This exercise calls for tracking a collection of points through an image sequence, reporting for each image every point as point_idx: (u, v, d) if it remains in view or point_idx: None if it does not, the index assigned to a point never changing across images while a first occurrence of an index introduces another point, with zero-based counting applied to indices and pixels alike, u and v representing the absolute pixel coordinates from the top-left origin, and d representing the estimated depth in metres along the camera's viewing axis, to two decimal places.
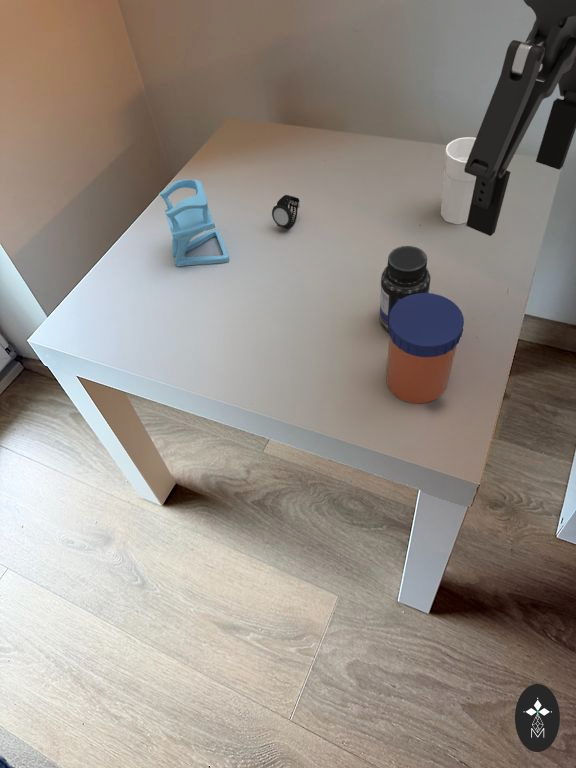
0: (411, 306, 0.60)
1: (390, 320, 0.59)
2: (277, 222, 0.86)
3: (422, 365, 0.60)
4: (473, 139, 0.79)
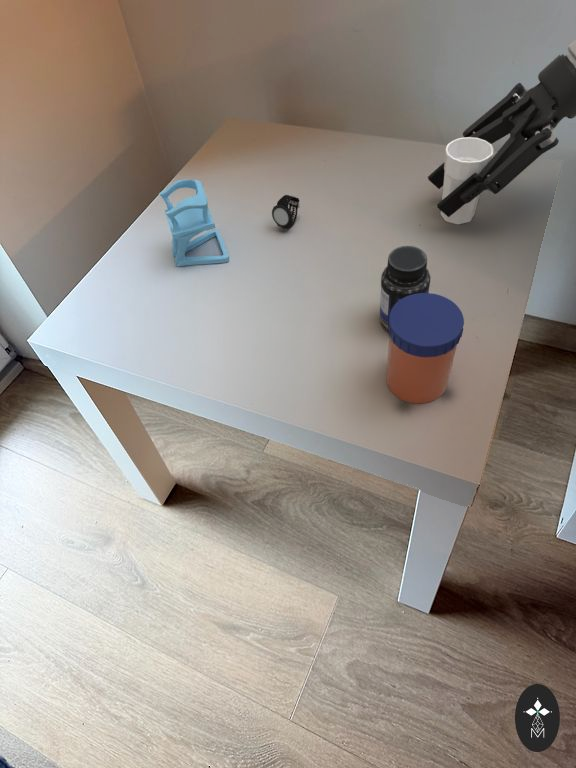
0: (411, 306, 0.60)
1: (390, 320, 0.59)
2: (277, 222, 0.86)
3: (422, 365, 0.60)
4: (473, 139, 0.79)
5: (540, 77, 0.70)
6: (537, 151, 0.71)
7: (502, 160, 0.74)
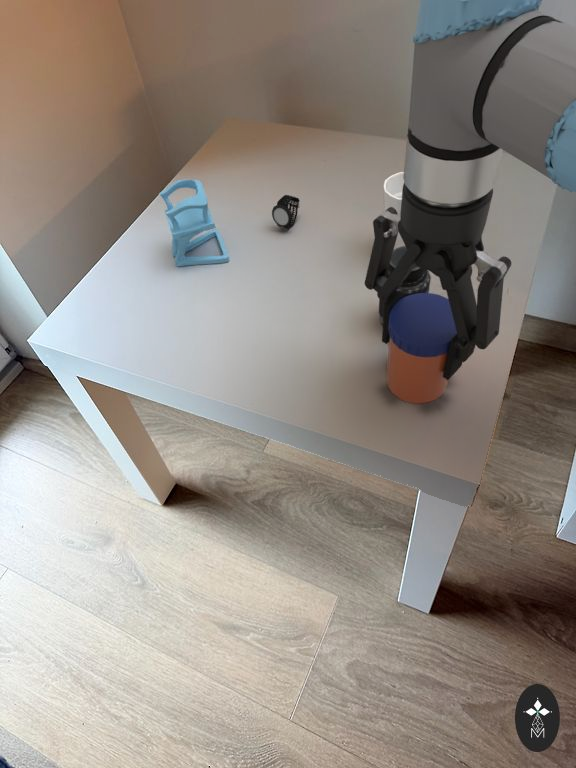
0: (411, 306, 0.60)
1: (390, 320, 0.59)
2: (277, 222, 0.86)
3: (422, 365, 0.60)
4: None
5: (416, 238, 0.47)
6: (498, 285, 0.49)
7: (466, 311, 0.53)
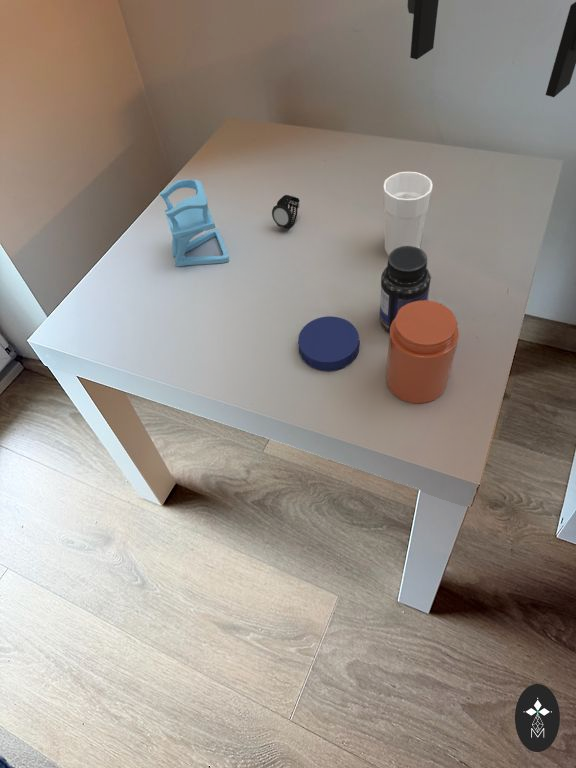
0: (330, 325, 0.72)
1: (306, 325, 0.73)
2: (277, 222, 0.86)
3: (422, 365, 0.60)
4: (413, 174, 0.75)
5: None
6: None
7: None
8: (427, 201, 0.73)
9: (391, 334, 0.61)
